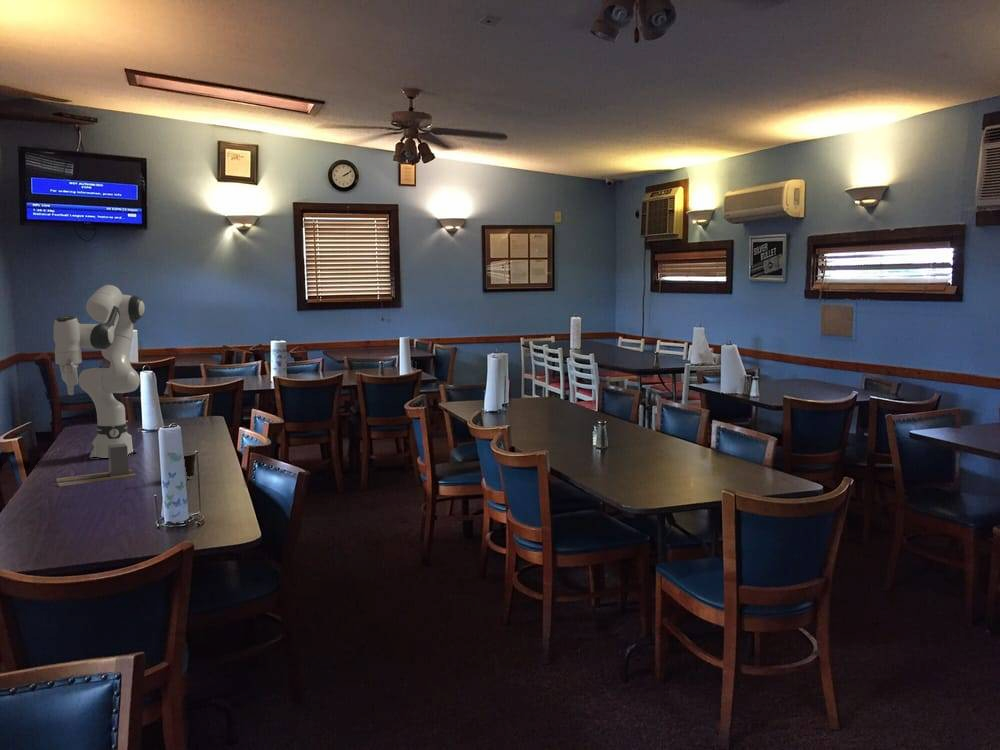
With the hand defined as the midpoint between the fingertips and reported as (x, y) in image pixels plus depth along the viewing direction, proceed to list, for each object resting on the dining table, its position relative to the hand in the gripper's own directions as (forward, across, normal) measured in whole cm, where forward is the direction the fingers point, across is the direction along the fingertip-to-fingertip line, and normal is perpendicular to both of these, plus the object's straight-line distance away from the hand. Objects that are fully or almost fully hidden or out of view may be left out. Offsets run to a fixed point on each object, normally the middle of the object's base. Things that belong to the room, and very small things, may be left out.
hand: (70, 394), depth 293 cm
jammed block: (+32, -10, -14) cm, 36 cm away
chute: (+33, -10, -6) cm, 35 cm away
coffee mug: (+33, -22, -36) cm, 54 cm away
